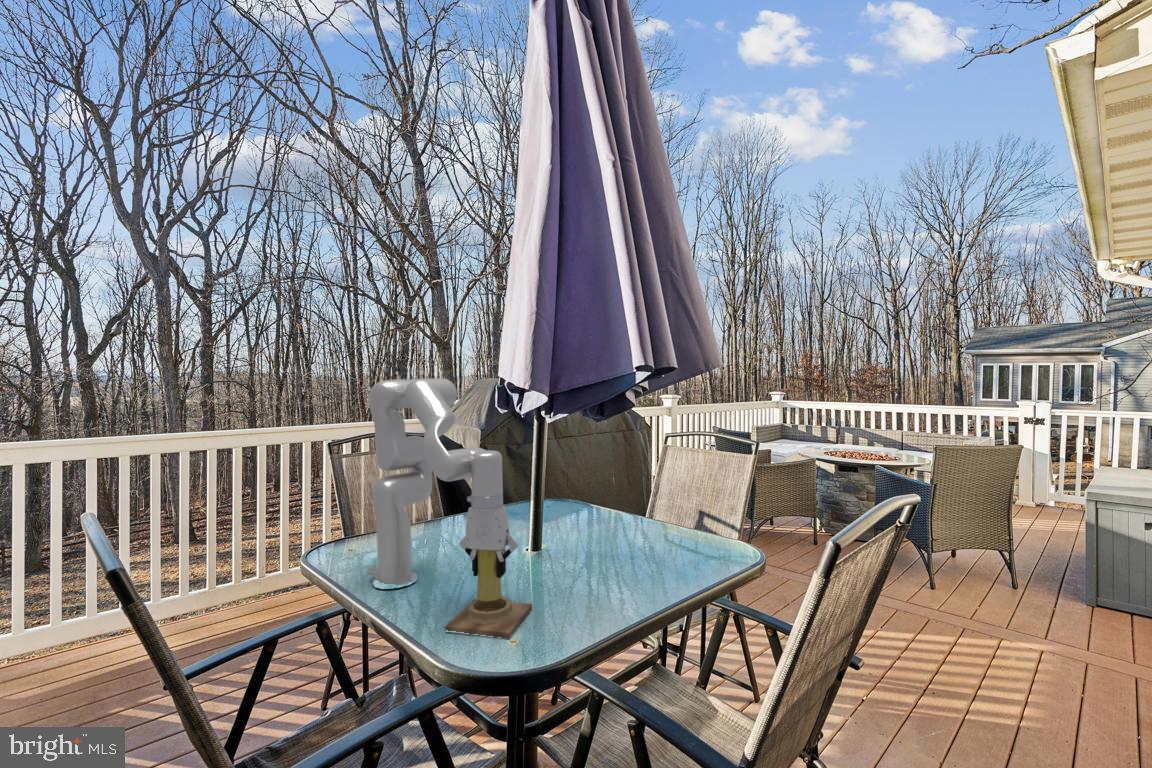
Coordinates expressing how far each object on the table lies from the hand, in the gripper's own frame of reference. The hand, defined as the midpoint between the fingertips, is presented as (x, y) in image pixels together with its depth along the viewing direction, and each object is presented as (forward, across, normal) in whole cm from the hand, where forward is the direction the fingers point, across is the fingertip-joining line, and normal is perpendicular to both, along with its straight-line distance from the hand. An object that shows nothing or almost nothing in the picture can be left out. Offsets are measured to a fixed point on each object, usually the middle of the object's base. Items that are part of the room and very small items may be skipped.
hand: (489, 574), depth 131 cm
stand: (+11, 0, 0) cm, 11 cm away
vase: (+6, 0, 0) cm, 6 cm away
